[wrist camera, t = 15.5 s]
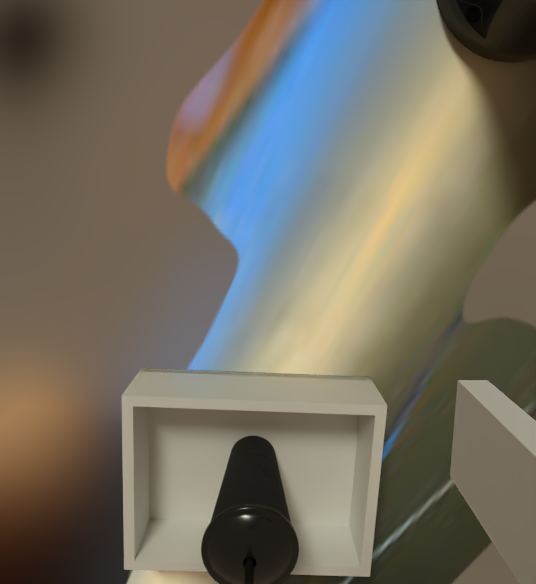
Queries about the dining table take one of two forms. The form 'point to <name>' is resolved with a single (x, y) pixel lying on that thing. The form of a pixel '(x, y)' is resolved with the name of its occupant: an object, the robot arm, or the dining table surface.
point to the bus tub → (216, 451)
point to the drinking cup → (250, 520)
